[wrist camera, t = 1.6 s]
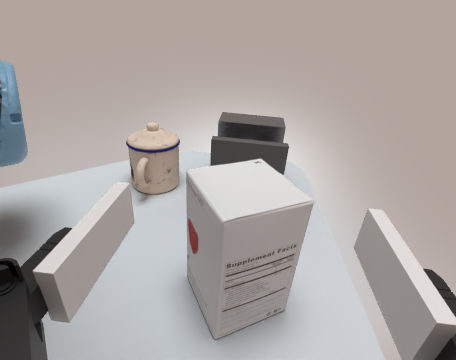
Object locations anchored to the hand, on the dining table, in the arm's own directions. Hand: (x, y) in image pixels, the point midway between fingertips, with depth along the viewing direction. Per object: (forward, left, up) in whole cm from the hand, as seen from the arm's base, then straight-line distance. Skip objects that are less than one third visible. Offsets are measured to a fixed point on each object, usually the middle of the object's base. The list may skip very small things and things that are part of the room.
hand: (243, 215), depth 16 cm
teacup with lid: (-22, +27, -18) cm, 39 cm away
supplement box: (-2, +9, -18) cm, 21 cm away
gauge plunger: (-4, +32, -17) cm, 37 cm away
